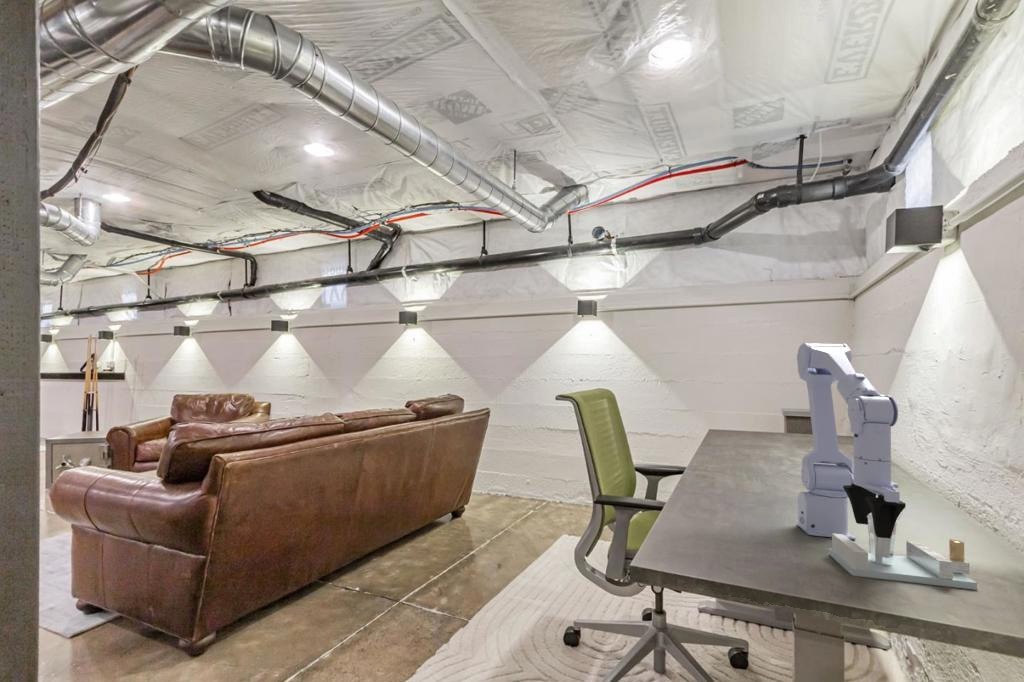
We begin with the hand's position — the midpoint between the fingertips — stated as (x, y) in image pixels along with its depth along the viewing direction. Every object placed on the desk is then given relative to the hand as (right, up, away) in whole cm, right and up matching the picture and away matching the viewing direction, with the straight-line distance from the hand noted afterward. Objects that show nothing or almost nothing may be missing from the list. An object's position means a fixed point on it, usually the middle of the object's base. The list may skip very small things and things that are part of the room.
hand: (872, 530), depth 91 cm
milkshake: (+1, -6, -1) cm, 6 cm away
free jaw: (+11, -6, -3) cm, 13 cm away
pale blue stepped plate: (+4, -7, -1) cm, 8 cm away
